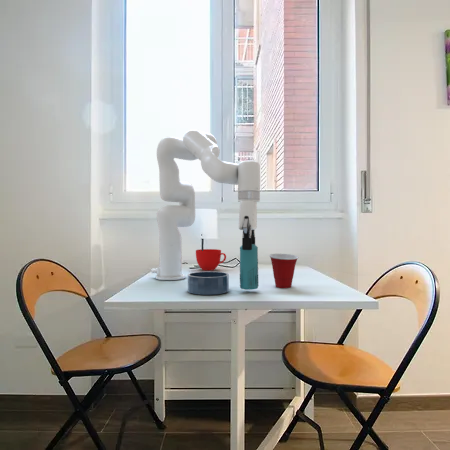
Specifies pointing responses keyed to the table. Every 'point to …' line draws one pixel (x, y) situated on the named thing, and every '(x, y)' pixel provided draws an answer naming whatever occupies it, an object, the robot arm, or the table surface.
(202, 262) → the ceramic cup
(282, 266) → the plastic cup
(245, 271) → the beverage bottle
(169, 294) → the table surface
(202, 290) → the blue-grey round bowl
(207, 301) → the table surface
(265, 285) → the table surface
